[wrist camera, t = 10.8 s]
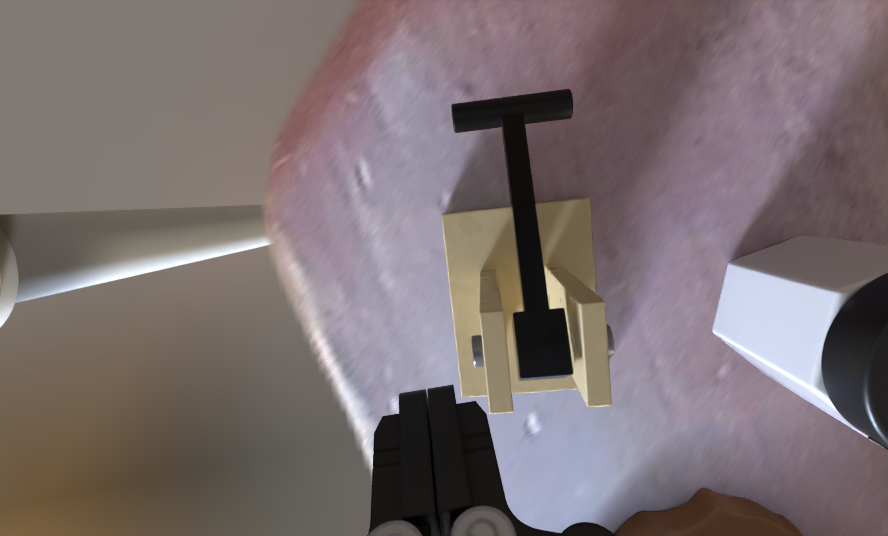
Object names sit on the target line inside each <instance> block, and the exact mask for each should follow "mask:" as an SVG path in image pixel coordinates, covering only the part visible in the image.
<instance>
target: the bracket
mask: <svg viewBox="0 0 888 536" xmlns="http://www.w3.org/2000/svg"><path fill="white" fill-rule="evenodd" d="M535 204H536V211H537V219H538V226H539V234H540V241H541V249H542V256H543V264H544V271H545V279H546V286H547V294H548V301H549V309H555V308H564V309H565V315H566V322H567V329H568V336H569V343H570V350H571V357H572V364H573V371H574V373H573V374H572V375H570V376H568V377H565V378H553V379H540V380H527V381H519V380H518V374H517V365H516V356H515V347H514V338H513V329H512V317H513V313H514V312H521V311H523V305H522V297H521V288H520V280H519V271H518V263H517V254H516V246H515V237H514V229H513V220H512V212H511V206H505V207H496V208H487V209H478V210H468V211H459V212H450V213H443V214H442V215H441V216H442V225H443V234H444V243H445V252H446V261H447V270H448V279H449V288H450V297H451V306H452V315H453V324H454V333H455V342H456V351H457V360H458V369H459V378H460V387H461V396H462V397H477V396H488V404H489V413H490V414H499V413H512V412H513V401H512V394H518V393H531V392H545V391H559V390H572V389H579V391H580V393H581V395H582V397H583V399H584V401H585V403H586V405H587V407H598V406H610V405H611V404H612V400H611V384H610V369H609V356H612V355H613V353H614V341H613V335H612V331H611V328H610V326H609V325H608V324H607V322H606V307H605V301H604V300H603V299H601V298H600V297H599V296H598V295H597V294H596V284H595V269H594V254H593V239H592V224H591V209H590V199H589V198H578V199H569V200H560V201H550V202H541V203H535Z"/></svg>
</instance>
